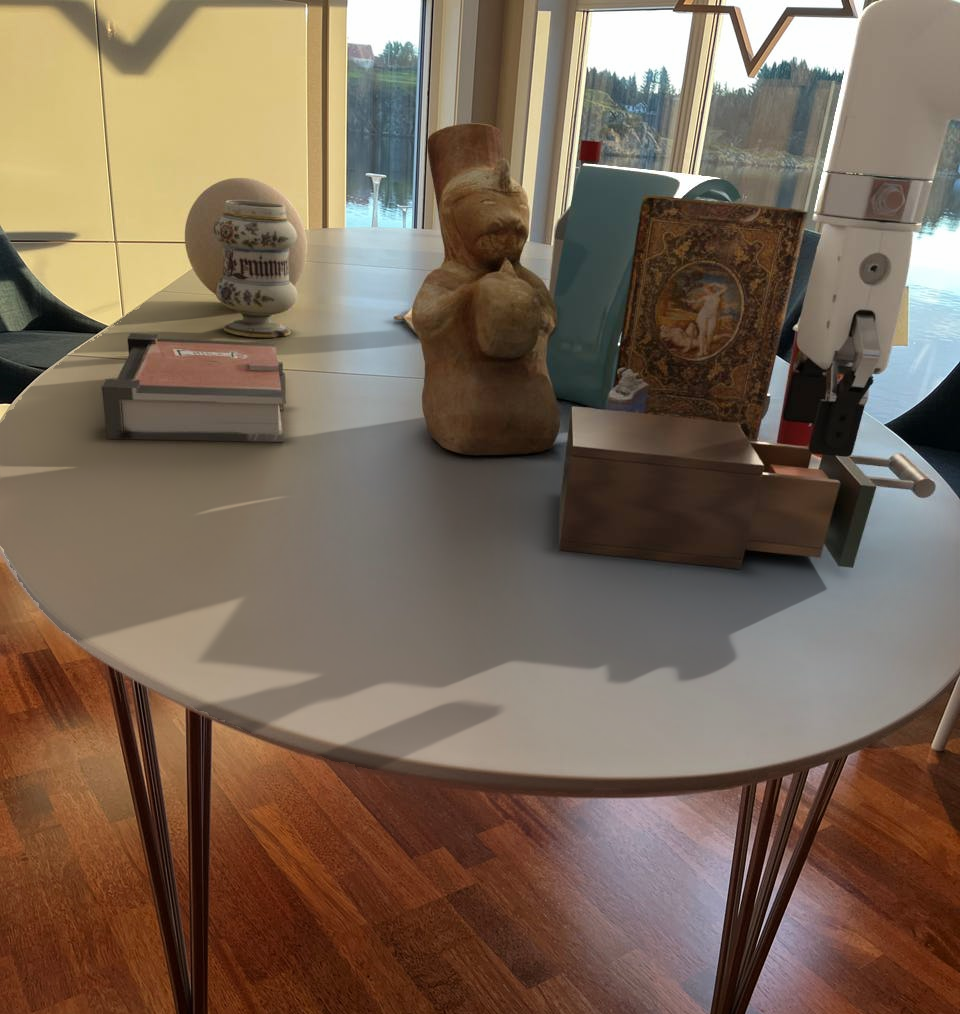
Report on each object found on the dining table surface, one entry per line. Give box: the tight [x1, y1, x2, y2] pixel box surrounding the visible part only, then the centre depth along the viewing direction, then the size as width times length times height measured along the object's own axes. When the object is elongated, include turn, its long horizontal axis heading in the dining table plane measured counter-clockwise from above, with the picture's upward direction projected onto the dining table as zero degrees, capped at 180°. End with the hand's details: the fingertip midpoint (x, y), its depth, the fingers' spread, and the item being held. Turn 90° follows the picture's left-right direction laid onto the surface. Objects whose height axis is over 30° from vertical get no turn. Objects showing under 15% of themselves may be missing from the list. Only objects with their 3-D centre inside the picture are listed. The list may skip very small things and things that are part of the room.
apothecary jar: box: [214, 200, 298, 339], centre depth 140 cm, size 12×12×18 cm
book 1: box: [101, 332, 287, 443], centre depth 103 cm, size 26×18×5 cm
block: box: [768, 464, 829, 479], centre depth 79 cm, size 4×4×4 cm
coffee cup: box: [776, 317, 843, 458], centre depth 102 cm, size 8×8×15 cm
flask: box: [606, 367, 649, 413], centre depth 91 cm, size 9×3×11 cm, turn 158°
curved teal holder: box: [546, 164, 772, 420], centre depth 116 cm, size 26×28×28 cm
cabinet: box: [558, 405, 764, 570], centre depth 79 cm, size 15×13×9 cm
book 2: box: [613, 195, 809, 442], centre depth 100 cm, size 16×6×25 cm, turn 82°
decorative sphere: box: [184, 177, 308, 296], centre depth 159 cm, size 20×20×20 cm
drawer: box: [745, 440, 937, 568], centre depth 79 cm, size 19×11×7 cm, turn 85°
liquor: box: [547, 139, 603, 300], centre depth 168 cm, size 9×9×30 cm
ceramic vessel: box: [411, 122, 561, 456], centre depth 98 cm, size 16×22×30 cm
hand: (814, 436), depth 76 cm, fingers open, 9 cm apart
